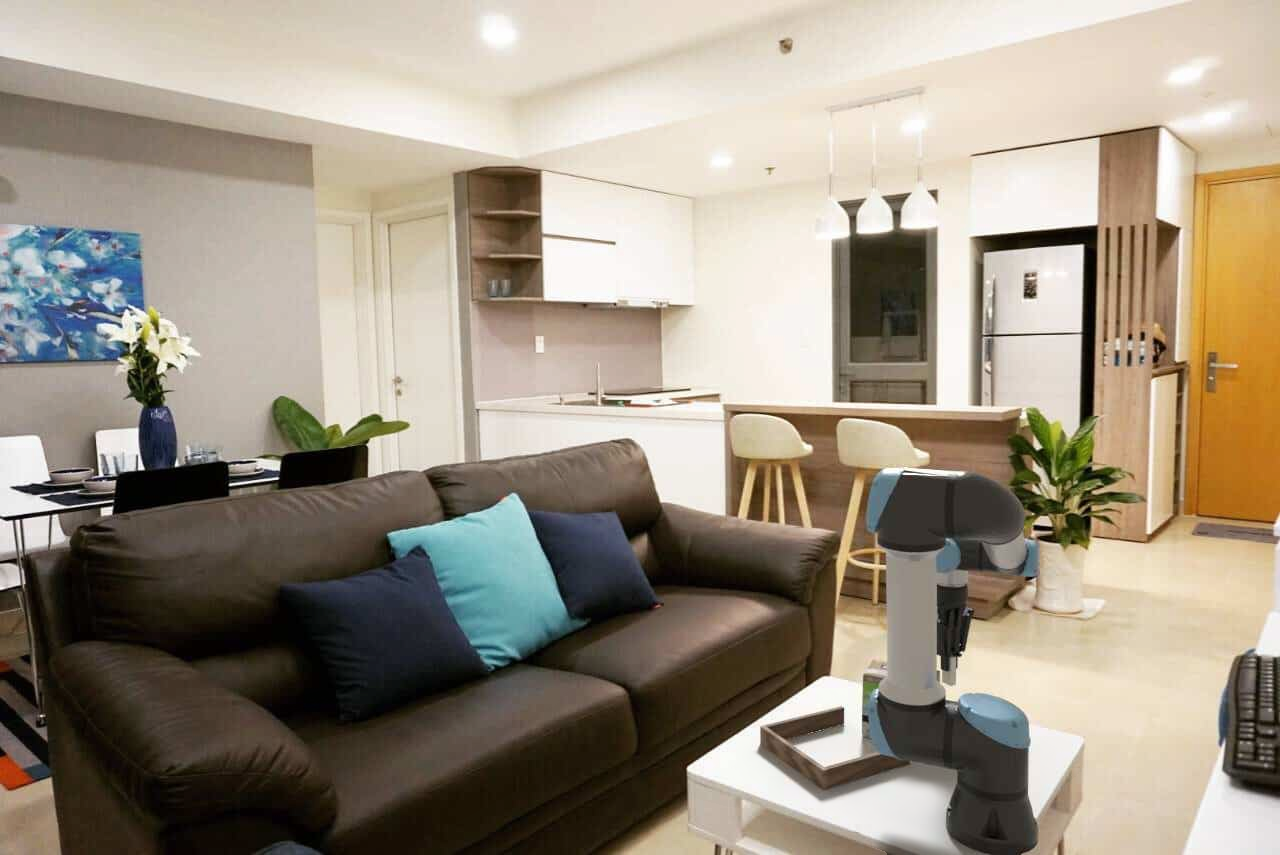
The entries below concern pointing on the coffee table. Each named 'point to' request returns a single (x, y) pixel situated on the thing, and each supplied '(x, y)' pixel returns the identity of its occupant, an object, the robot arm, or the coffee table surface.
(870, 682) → the tea box
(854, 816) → the coffee table surface
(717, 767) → the coffee table surface
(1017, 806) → the robot arm
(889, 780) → the coffee table surface
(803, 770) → the frame
